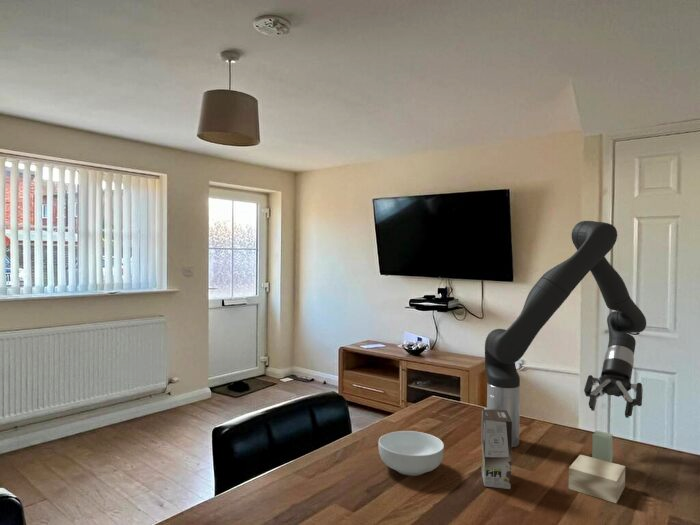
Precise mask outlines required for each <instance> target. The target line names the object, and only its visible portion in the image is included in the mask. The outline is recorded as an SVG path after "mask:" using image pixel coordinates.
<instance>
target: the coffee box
mask: <svg viewBox="0 0 700 525" xmlns="http://www.w3.org/2000/svg"><path fill="white" fill-rule="evenodd" d="M512 448H513V447H512V420H511V418H510V416H509V414H508V412H507V410H494V409H491V410H489V409H485V408H482V409H481V467H480V468H481V470H480V471H481V475H482V480H483V485H484V487H489V488H496V489H505V490H511V488H512V487H511V486H512Z"/></svg>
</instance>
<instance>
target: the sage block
mask: <svg viewBox="0 0 700 525" xmlns="http://www.w3.org/2000/svg"><path fill="white" fill-rule="evenodd" d="M591 436H592V442H591V443H592V447H591V450H592V451H591V454H592V455H591V457H592V458H596V459H600V460H604V461H607V462H611V463H613V448H614V447H613V444H614V442H613V436H614V435H613V433H609V432H604V431H600V430H595V431H594V432H593V434H592V435H591Z"/></svg>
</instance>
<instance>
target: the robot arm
mask: <svg viewBox="0 0 700 525" xmlns="http://www.w3.org/2000/svg"><path fill="white" fill-rule="evenodd" d="M617 240H618V231H617V228H616V226H614V225H613V224H611V223H609V222H603V221H594V220H581V221H579V222H577V223H576V224H575V226H574V227H573V228H572V231H571V241H572V244H573V246H574V247H575V249H576V251H575V252H574V254H572V255H571V256H570V257H568V258H567V259H566V260H564V261H562V262H560V263H559V264H557V265H555V266H554V267H552V268H550V269H549V270H548V271H546V272H545V273H543V275H541V277H540V278H539V279H538V281H536V283H535V284H534V285H533V287H531V289H530V291H529V292H528V295H527V297H526V299H525V302H524V304H523V307H522V310H521V312H520V313H519V316H517V318H516V319H515V320H514V321H513V322H512V323H511V325H510V326H509V327H508V328H507V329H505V328H495V329H493V330H491V331H490V332H489V333H488V335H487V336H486V338H485V342H484V366H485V367H484V369H485V374H486V384H487V386H486V393H487V394H486V407H485V408H484V409H489V410H491V409H494V410H507V412H508V414H509V416H510V418H511V420H512V448H514V447H518V446H519V444H520V411H521V410H520V409H521V408H520V404H521V403H520V400H521V399H520V398H521V397H520V395H521V392H520V390H521V389H520V388H521V387H520V386H521V385H520V383H521V377H520V375H519V372H518V371H517V368H516V362H518V361H519V360H520V359H521V358H522V357H523V356H524V354H526V352H527V350H528V348H529V347H530V346H531V344H532V342H533V341H534V339H535V338H536V337H537V335H538V334H539V332H540V330H542V328H543V327H544V326H545V324H547V322H548V321H549V320H550V319H551V317H553V315H554V314H555V312H556V311H558V309H560V307H562V305H563V303H564V302H565V301H566V300H567V299H568V298H569V296H570V295H571V294H572V292H574V289H576V287H577V286H578V285H579V284H580V283H581V282H582V281H583V279H584V278H585V277H586V275H588V274H589V272H590V273H591V275H592V277H593V278H594V280H595V282H596V284H597V286H598V288H599V291H600V293H601V296H602V298H603V300H604V303H605V305H606V307H607V308H608V309H609V310H612V312H610V313H609V314H608V315H607V317H606V318H607V319H606V322H607V328H608V334H609V335H608V336H609V340H608V345H607V350H606V352H605V355H604V361H603V364H602V370H601V374H600V376H599V377H594V376H593V375H592V374H590V375H588V376H587V380H586V382H585V384H584V385H585V386H584V389H583V391H584V395H585V396H586V397H589V399H588V400H589V401H588V407H589V409H590V410H591V411H593V412H595V409H596V404H597V399H599V398H600V397H602V396H603V397H604V395H607V396H615V397H618V398H619V397H622V398H623V399H624V401H625V402H626V405H625V410H624V416H625V418H628V419H629V418H630V417H632V415H633V409H634V407H635V406H638V407H641V406H643V404H642V403H643V391H644V389H643V384H642V383H641V382H637V383H636V384H635V383H632V382H631V379H632V375H633V374H632V373H633V369H634V362H635V358H634V357H635V356H634V355H635V350H636V346H637V345H636V339H635V336H633V335H631V334H635V333H636V334H638V333H642V332H644V331H645V329H646V327H647V319H646V316H645V314H644V313H643V311H642V310H641V309H640V308H639V306H637V304H636V303H635V302H634V300H633V299H632V297H631V296H630V294H629V290H628V287H627V286H626V283H625V282H624V279H623V278H622V276H621V275H620V273H618V271H617V270H616V269H615V268H614V266H612V265H611V263H610V262H609V261H608V259H607V258H606V256H607V254H609V252H610V251H611V250H612V249H613V248H614V246H615V244H616V242H617ZM596 384H598V385H597V386H596V387H595V389H593V388H594V387H593V386H595V385H596ZM592 389H593V390H592ZM631 389H632V390H633V391H634V393H636V394H635V398H632V396H631V395H630V393H629V391H631Z"/></svg>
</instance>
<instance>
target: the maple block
mask: <svg viewBox="0 0 700 525" xmlns="http://www.w3.org/2000/svg"><path fill="white" fill-rule="evenodd" d="M625 488H626V465H622V464H619V463H614V462H612V463H611V462H607V461H604V460H600V459H596V458H592V456H588V455H585V454H579V455H578V456H577V458H576V459H575V460H573V462H572V464H571V465H569V467H568V490H571V491H575V492H579V493H581V494H584V495H587V496H591V497H594V498H598V499H601V500H604V501H607V502H610V503H614V504H617V503H618V501H619V499H620V497H621V495H622V494H623V492H624V490H625Z"/></svg>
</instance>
